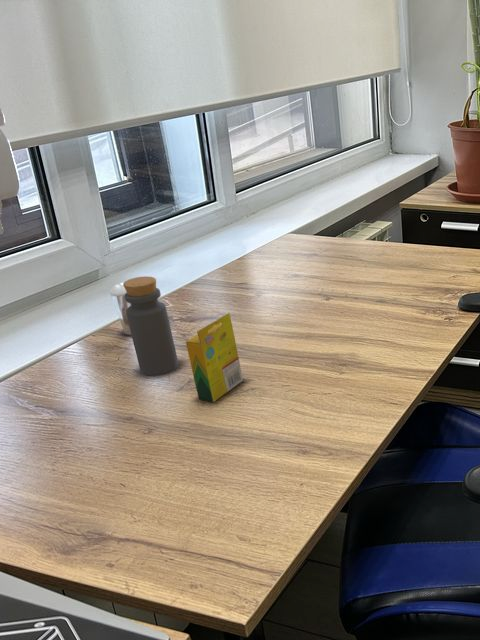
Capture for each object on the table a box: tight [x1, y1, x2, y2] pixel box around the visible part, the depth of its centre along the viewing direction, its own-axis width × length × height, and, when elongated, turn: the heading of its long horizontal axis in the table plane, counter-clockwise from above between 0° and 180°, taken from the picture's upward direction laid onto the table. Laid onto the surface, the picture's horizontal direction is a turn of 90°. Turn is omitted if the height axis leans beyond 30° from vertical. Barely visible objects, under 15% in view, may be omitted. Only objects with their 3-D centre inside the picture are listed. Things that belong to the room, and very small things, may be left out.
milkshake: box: [109, 282, 132, 336], centre depth 127 cm, size 5×5×10 cm
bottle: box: [122, 276, 179, 377], centre depth 112 cm, size 6×6×15 cm
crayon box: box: [185, 312, 244, 403], centre depth 106 cm, size 7×3×12 cm, turn 159°
